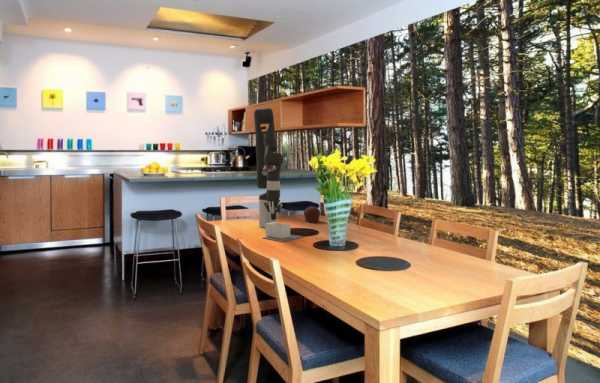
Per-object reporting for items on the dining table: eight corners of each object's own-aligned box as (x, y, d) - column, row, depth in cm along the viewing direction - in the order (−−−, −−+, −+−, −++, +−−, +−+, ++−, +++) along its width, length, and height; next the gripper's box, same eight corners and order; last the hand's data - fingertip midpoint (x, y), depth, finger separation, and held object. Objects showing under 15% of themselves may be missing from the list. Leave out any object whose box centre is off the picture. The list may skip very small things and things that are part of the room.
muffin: (302, 220, 332) (302, 205, 331) (318, 220, 333) (319, 205, 332) (304, 223, 320) (305, 208, 319) (321, 222, 321) (321, 207, 320)
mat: (283, 234, 280) (283, 233, 280) (303, 237, 270) (303, 236, 270) (262, 238, 267) (262, 237, 267) (283, 242, 257) (282, 241, 257)
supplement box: (274, 234, 276) (290, 237, 268) (264, 235, 271) (281, 239, 262) (274, 221, 275) (290, 224, 267) (265, 222, 270) (281, 225, 262)
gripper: (286, 189, 268) (286, 220, 269) (269, 187, 276) (269, 218, 278) (277, 190, 262) (277, 222, 264) (260, 188, 270) (260, 219, 272)
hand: (273, 219), depth 271 cm, fingers closed
